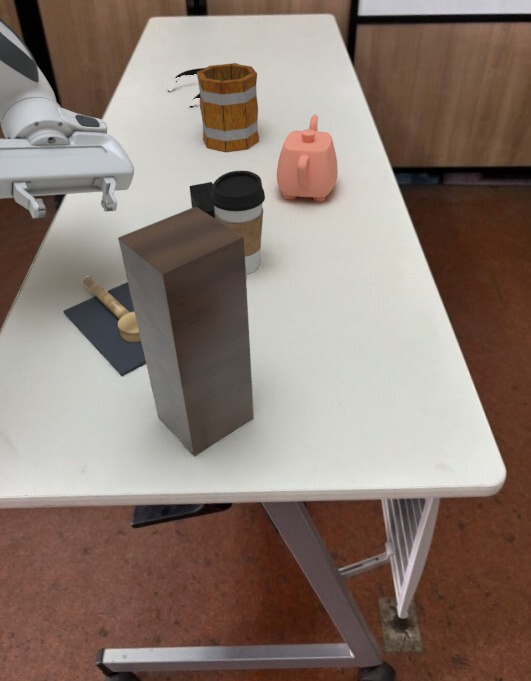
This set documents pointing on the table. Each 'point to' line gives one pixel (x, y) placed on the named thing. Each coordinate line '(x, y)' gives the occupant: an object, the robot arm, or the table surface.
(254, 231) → the coffee cup
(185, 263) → the stand
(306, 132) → the teapot
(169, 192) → the table surface
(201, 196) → the digital camera
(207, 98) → the wooden barrel
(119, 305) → the spoon
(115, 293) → the mat
